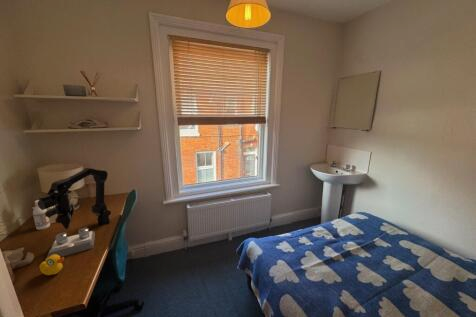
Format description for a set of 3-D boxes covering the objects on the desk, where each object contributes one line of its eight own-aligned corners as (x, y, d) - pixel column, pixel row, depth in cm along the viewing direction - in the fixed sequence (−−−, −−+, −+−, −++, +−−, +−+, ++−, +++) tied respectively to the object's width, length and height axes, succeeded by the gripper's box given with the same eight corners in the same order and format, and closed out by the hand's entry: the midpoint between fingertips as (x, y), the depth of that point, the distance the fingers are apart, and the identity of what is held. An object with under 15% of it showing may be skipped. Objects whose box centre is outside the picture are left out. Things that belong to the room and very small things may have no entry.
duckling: (70, 268, 101) (67, 251, 99) (62, 276, 96) (58, 259, 94) (47, 269, 101) (43, 252, 98) (37, 277, 95) (33, 259, 93)
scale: (94, 234, 130) (93, 228, 129) (93, 248, 117) (91, 241, 116) (54, 244, 120) (53, 237, 119) (47, 260, 106) (45, 253, 105)
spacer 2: (89, 233, 125) (88, 226, 124) (89, 237, 121) (88, 230, 120) (80, 236, 123) (78, 229, 122) (79, 240, 119) (77, 233, 118)
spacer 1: (68, 238, 120) (67, 231, 119) (67, 243, 116) (66, 235, 115) (57, 241, 117) (56, 234, 116) (56, 246, 113) (54, 238, 112)
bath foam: (47, 228, 136) (42, 201, 132) (34, 231, 133) (28, 203, 129) (51, 223, 142) (46, 198, 138) (39, 225, 139) (33, 199, 135)
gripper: (48, 199, 121) (54, 222, 124) (40, 212, 105) (46, 237, 109) (72, 195, 126) (76, 217, 130) (67, 206, 111) (72, 231, 115)
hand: (68, 225), depth 121 cm, fingers open, 9 cm apart
